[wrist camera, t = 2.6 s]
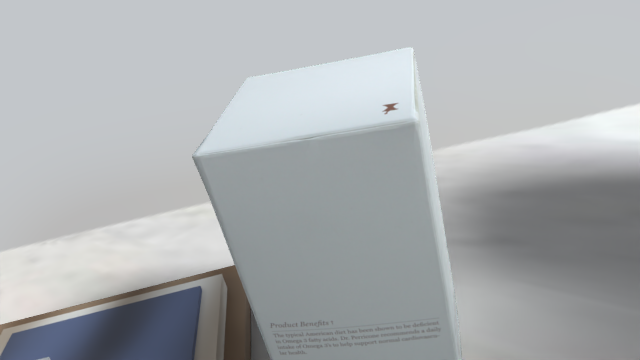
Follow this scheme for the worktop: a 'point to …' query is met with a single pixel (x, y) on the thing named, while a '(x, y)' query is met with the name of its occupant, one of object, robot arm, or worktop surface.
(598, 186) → the worktop surface
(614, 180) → the worktop surface
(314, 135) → the supplement box
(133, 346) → the stamping board
